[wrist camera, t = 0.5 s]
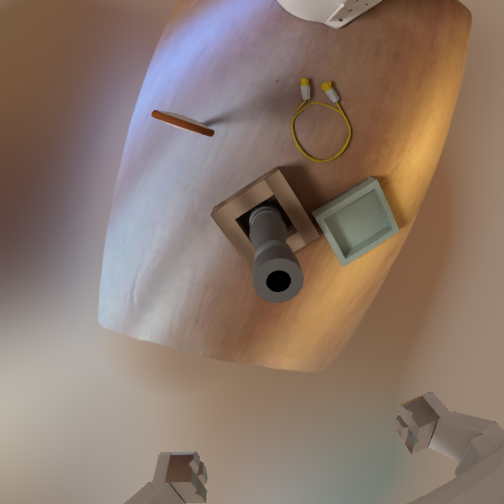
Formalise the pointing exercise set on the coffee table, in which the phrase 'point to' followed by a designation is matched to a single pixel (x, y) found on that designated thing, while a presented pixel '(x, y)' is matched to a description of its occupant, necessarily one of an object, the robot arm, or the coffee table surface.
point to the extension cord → (331, 94)
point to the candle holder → (273, 256)
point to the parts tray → (356, 220)
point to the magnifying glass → (182, 122)
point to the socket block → (252, 196)
